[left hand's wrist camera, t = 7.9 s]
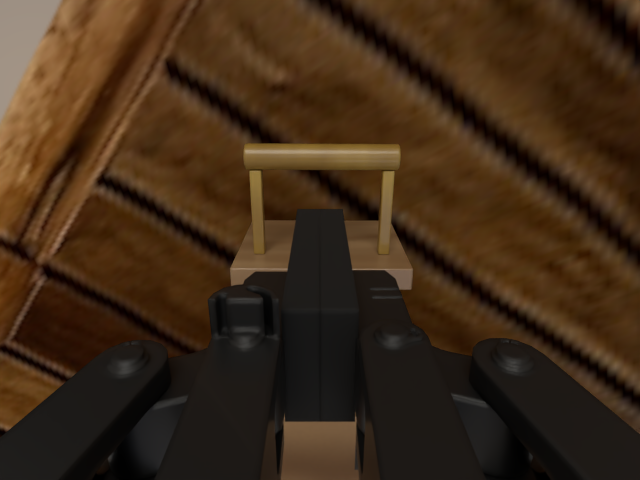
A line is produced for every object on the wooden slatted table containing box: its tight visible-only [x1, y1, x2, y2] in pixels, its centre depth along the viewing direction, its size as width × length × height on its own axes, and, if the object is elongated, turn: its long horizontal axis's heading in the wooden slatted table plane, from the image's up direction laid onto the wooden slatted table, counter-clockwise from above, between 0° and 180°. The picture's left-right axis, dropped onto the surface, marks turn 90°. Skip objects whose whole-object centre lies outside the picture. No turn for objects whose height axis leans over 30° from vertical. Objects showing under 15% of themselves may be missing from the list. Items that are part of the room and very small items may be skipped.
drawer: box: [230, 144, 413, 290], centre depth 27 cm, size 23×9×8 cm, turn 0°
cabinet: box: [281, 412, 359, 480], centre depth 31 cm, size 19×10×10 cm, turn 0°
